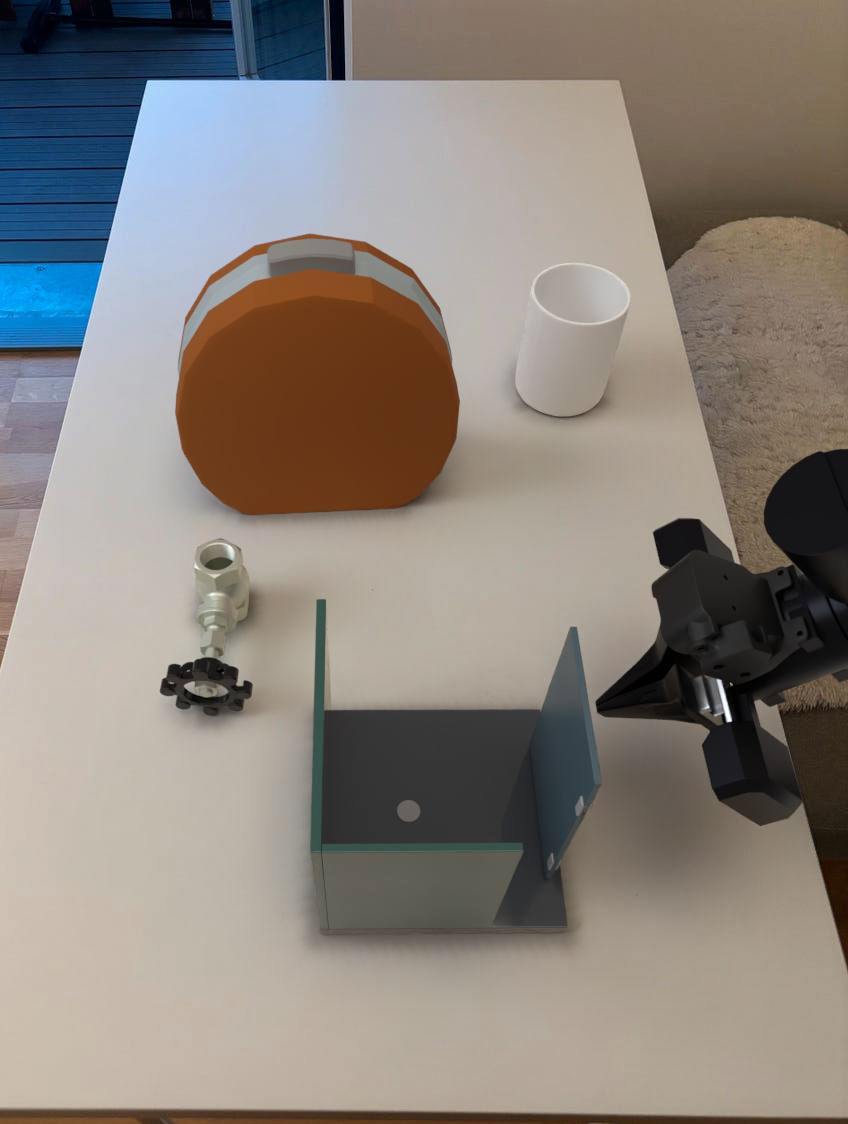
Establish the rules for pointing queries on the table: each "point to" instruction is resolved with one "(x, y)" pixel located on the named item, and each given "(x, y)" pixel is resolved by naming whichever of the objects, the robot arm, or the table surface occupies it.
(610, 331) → the mug
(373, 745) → the shower stall
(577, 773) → the shower door
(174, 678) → the valve
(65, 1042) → the table surface
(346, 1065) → the table surface
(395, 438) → the alarm clock
